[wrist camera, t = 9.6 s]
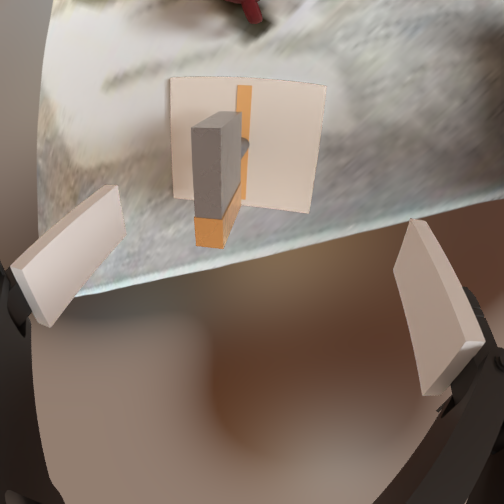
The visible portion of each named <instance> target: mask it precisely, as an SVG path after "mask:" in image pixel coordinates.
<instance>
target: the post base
mask: <svg viewBox="0 0 504 504" xmlns="http://www.w3.org/2000/svg"><path fill="white" fill-rule="evenodd" d="M326 89H327V86H324V85H317V84H310V83H302V82H294V81H285V80H274V79H262V78H245V77H172V78H170V120H171V156H172V178H173V195H174V198H177V199H188V200H194V190H193V171H192V148H191V127H193V126H194V125H196V124H198V123H199V122H201V121H203V120H205V119H206V118H208V117H210V116H212V115H213V114H215V113H217V112H219V111H232V112H242V131H241V205H245V206H254V207H262V208H270V209H278V210H286V211H293V212H301V213H308V214H309V210H310V204H311V198H312V192H313V185H314V179H315V172H316V166H317V159H318V152H319V145H320V137H321V130H322V122H323V114H324V106H325V97H326Z"/></svg>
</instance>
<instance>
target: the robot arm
mask: <svg viewBox="0 0 504 504" xmlns="http://www.w3.org/2000/svg"><path fill="white" fill-rule="evenodd" d="M126 235H127V234H126V229H125V223H124V218H123V212H122V207H121V201H120V195H119V189H118V185H104V186H103V187H101V188H100V189H99V190H97V191H96V192H95V193H93V194H92V195H91V196H89V197H88V198H87V199H86V200H84V201H83V202H82V203H80V204H79V205H78V206H77V207H75V208H74V209H73V210H72V211H71V212H69V213H68V214H67V215H66V216H64V217H63V218H62V219H61V220H60V221H58V222H57V223H56V224H55V225H54V226H53V227H51V228H50V229H49V230H48V231H47V232H46V233H45V234H43V235H42V236H41V237H40V238H39V239H38V240H37V241H36V242H35V243H34V244H32V245H31V246H30V247H29V248H28V249H27V250H26V251H25V252H24V253H23V254H22V255H21V256H20V257H19V258H18V259H17V260H16V261H15V262H14V263H13V264H12V265H11V266H10V267H9V268H8V269H7V270H6V271H5V270H4V268H3V266H2V264H1V261H0V504H65V503H64V501H63V498H62V496H61V495H60V493H59V492H58V490H57V489H56V488H55V487H54V485H53V484H52V482H51V480H50V478H49V474H48V471H47V466H46V462H45V458H44V453H43V448H42V444H41V438H40V433H39V427H38V421H37V414H36V406H35V397H34V387H33V375H32V355H31V322H30V319H29V318H28V316H29V315H30V314H31V312H32V313H33V314H34V316H35V318H36V320H37V322H38V323H40V324H42V325H45V326H47V327H50V328H51V327H52V325H53V324H54V323H55V321H56V320H57V319H58V317H59V316H60V315H61V313H62V312H63V311H64V309H65V308H66V307H67V305H68V304H69V303H70V302H71V300H72V299H73V298H74V296H75V295H76V294H77V293H78V291H79V290H80V289H81V288H82V286H83V285H84V284H85V283H86V282H87V280H88V279H89V278H90V277H91V275H92V274H93V273H94V272H95V271H96V269H97V268H98V267H99V266H100V265H101V264H102V262H103V261H104V260H105V259H106V258H107V257H108V255H109V254H110V253H111V252H112V251H113V250H114V248H115V247H116V246H117V245H118V244H119V243H120V242H121V241H122V240H123V238H124V237H125V236H126ZM393 272H394V275H395V279H396V282H397V286H398V289H399V293H400V296H401V299H402V303H403V307H404V311H405V315H406V318H407V323H408V327H409V331H410V335H411V340H412V344H413V349H414V353H415V358H416V363H417V368H418V373H419V379H420V385H421V391H422V396H431V395H442V394H443V392H444V391H445V390H446V389H447V388H448V387H449V386H450V385H451V390H452V395H451V396H450V397H449V398H448V399H447V400H446V401H445V402H444V403H443V404H442V406H440V407H439V408H438V409H437V410H436V411H437V412H439V411H440V410H441V412H440V413H439V415H438V417H437V418H436V420H435V422H434V423H433V425H432V426H431V428H430V429H429V431H428V433H427V434H426V436H425V437H424V439H423V440H422V442H421V443H420V445H419V446H418V447H417V449H416V450H415V452H414V453H413V454H412V456H411V457H410V459H409V460H408V461H407V463H406V464H405V465H404V467H403V468H402V469H401V470H400V472H399V473H398V474H397V476H396V477H395V478H394V479H393V480H392V482H391V483H390V484H389V485H388V486H387V488H386V489H385V490H384V491H383V492H382V494H381V495H380V496H379V497H378V498H377V499H376V500H375V501H374V502H373V504H464V503H465V502H466V500H467V498H468V500H467V503H466V504H504V349H503V348H499V347H497V344H496V342H495V340H494V337H493V335H492V332H491V330H490V328H489V325H488V323H487V321H486V318H484V314H483V312H482V310H481V309H480V305H479V303H478V301H477V299H476V297H475V296H474V295H473V294H472V292H471V291H470V290H469V289H468V288H467V287H462V286H461V284H460V282H459V280H458V278H457V276H456V274H455V272H454V270H453V268H452V266H451V265H450V263H449V261H448V259H447V257H446V255H445V253H444V252H443V250H442V248H441V246H440V244H439V243H438V241H437V239H436V238H435V236H434V234H433V232H432V231H431V229H430V227H429V226H428V224H427V222H426V221H422V220H417V219H412V218H410V221H409V225H408V228H407V231H406V234H405V237H404V240H403V243H402V246H401V249H400V252H399V255H398V257H397V260H396V263H395V266H394V269H393ZM468 496H469V497H468Z"/></svg>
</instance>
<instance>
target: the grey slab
mask: <svg viewBox="0 0 504 504" xmlns="http://www.w3.org/2000/svg"><path fill="white" fill-rule="evenodd" d="M241 131H242V112H232V111H219V112H217V113H215V114H213V115H212V116H210V117H208V118H206V119H205V120H203V121H201V122H199V123H198V124H196V125H194V126H193V127H191V148H192V171H193V190H194V206H195V217H194V224H195V237H196V246H202V247H211V248H220V249H224V246H225V244H226V241H227V239H228V236H229V234H230V231H231V229H232V226H233V224H234V222H235V219H236V217H237V214H238V212H239V209H240V207H241Z"/></svg>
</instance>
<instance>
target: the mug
mask: <svg viewBox="0 0 504 504" xmlns="http://www.w3.org/2000/svg"><path fill="white" fill-rule="evenodd" d="M225 1H229V2H234V3H239V4H242V8H243V11H244V13H245V16H246V18H247V20H248V21H249V23H251V24H257V23H260V22H261V21H262V14H261V11H260V8H259V6H258V3H257V2H258V1H259V0H225Z"/></svg>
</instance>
